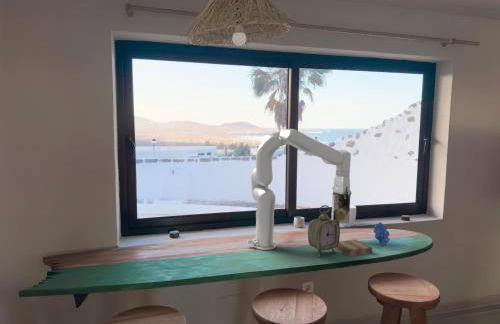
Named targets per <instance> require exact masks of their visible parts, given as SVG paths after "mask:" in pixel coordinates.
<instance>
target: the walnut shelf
mask: <svg viewBox="0 0 500 324" xmlns="http://www.w3.org/2000/svg"><path fill="white" fill-rule="evenodd" d="M334 250H337V251H339V252H341V253H343V254H344V255H345V256H348V257H351V256H353V257H354V256H359V255H367V254H368V255H369V254H373V247H372V246H370V245H368V244H366V243H363V242H362V241H359V240H357V239H349V240H348V239H347V240H339V244H338V246H337V247H335V248H334Z"/></svg>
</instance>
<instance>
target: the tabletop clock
mask: <svg viewBox="0 0 500 324" xmlns="http://www.w3.org/2000/svg"><path fill="white" fill-rule="evenodd" d="M325 207H326V208H328V210H327V211H326V210H323V211H321V209H322V208H325ZM318 211H319V213H320V215H319V216H318V218H314V219H312V220H310V221H309V222H308V227H307V240H308V244H309V246H310V247H312V248H316V249H317V254H316V258H319V257H321V254H320V253H322V251H329V250H332V253H333V254H336V249H335V247H337V246H338V244H339V241H340V237H341V227H340V226H341V223H339V222H338V221H335V220H332V219H331V218H330V216H329V215H328V214H327V213H329V212H330V206H329V205H327V204H325V205H324V204H323V205H321V206H320V207H319V210H318Z"/></svg>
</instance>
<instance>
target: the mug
mask: <svg viewBox="0 0 500 324" xmlns="http://www.w3.org/2000/svg"><path fill="white" fill-rule="evenodd" d="M356 217H357V206H356V205H351V204H350V212H349V223H340V225H341V226H343V227H347V228H350V227H353V226H354V224H355V221H356Z"/></svg>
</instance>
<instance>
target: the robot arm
mask: <svg viewBox="0 0 500 324" xmlns="http://www.w3.org/2000/svg"><path fill="white" fill-rule="evenodd" d="M286 145H290V146H292V147H294V148H296V149H298V150H300V151H302V152H303V153H305V154H308V155H310V156H314V157H318V158H320V159H321V160H322V162H323V163H325V164H327V165H332V166H335V167H336V168H335V175H334V179H333V184H332V185H333V186H332V191H333V192H332V194H333V193H338V194H343V196H344V199H343V206H348V204H349V198H350V199H351V195H352V191H351V178H350V175H351V174H350V173H351V158H352V155H351V154H352V153H351V152H349V151H339V150H337V149H335V148H333V147H332V146H329V145H327V144H325V143H323V142H321V141H318V140H317V139H314V138H312V137H310V136H308V135H306V134H304V132H303V133H302V132H301V131H299V130H298V129H294V128H286V129H282V130H279V131H276V132H271V133H269V134H265V135H263V137H261V140H260V145H259V146H258V149H257V150H256V155H255V167H254V169H253V170H252V172H251V176H250V178H251V179H250V180H251V182H250V183H251V193H252V194H251V196H252V198H253V200H254V201H255V202H256V211H255V222H256V223H255V237H253V239H247V240H246V244H247V245H249V244H250V245H252V247H253V248H254V249H255V250H256V249H257V250H261V251H262V250H263V251H271V250H273V249H276V248H277V243H276V242H274V237H275V236H274V233H275V231H274V230H275V229H274V225H275V218H274V216H275V205H276V195H275V193H274V191H273V190H272V189H270V188H269V185H271V183H272V182H273V178H274V177H273V176H274V175H273V156H274V155H275V152H276V151H278V150H279V149H280V148H281V147H284V146H286ZM345 195H346V196H345Z"/></svg>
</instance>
